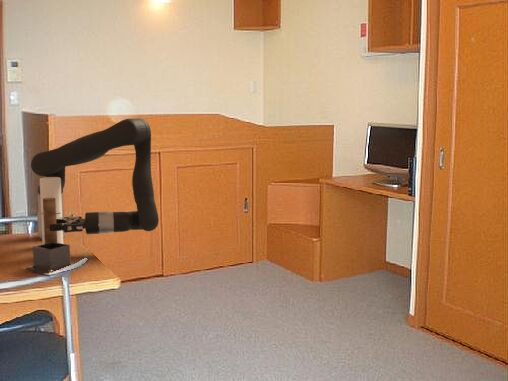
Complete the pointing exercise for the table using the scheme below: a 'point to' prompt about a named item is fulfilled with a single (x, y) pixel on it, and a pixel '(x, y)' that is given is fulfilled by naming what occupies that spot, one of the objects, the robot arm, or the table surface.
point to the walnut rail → (49, 219)
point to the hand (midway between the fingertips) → (50, 225)
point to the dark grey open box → (50, 257)
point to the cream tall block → (51, 189)
